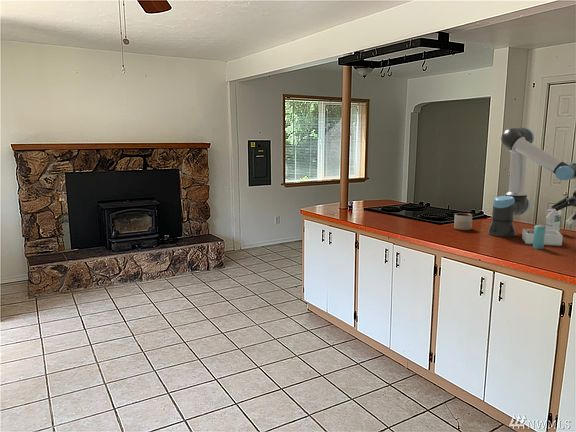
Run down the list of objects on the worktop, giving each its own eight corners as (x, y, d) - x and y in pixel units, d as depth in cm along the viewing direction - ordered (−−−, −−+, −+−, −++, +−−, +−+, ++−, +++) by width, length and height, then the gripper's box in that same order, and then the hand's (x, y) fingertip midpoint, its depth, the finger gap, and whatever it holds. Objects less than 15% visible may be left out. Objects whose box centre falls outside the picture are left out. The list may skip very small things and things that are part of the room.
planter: (467, 226, 291) (467, 212, 289) (474, 230, 280) (475, 215, 279) (451, 227, 291) (452, 213, 289) (458, 230, 280) (458, 216, 278)
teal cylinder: (533, 248, 233) (535, 226, 230) (532, 246, 237) (533, 225, 235) (544, 249, 231) (546, 227, 229) (542, 247, 235) (544, 225, 233)
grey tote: (525, 243, 243) (526, 233, 242) (522, 238, 256) (522, 228, 255) (561, 245, 237) (562, 235, 236) (556, 240, 250) (557, 230, 249)
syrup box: (552, 234, 265) (555, 210, 262) (544, 232, 270) (546, 209, 268) (560, 233, 266) (562, 210, 264) (552, 231, 272) (554, 208, 269)
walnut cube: (528, 240, 246) (529, 232, 245) (527, 238, 251) (528, 230, 250) (538, 241, 245) (539, 232, 244) (537, 239, 249) (538, 230, 248)
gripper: (608, 200, 221) (580, 230, 221) (569, 194, 245) (544, 221, 246) (600, 190, 219) (572, 220, 220) (562, 185, 244) (536, 212, 244)
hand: (557, 221), depth 233 cm, fingers open, 13 cm apart
